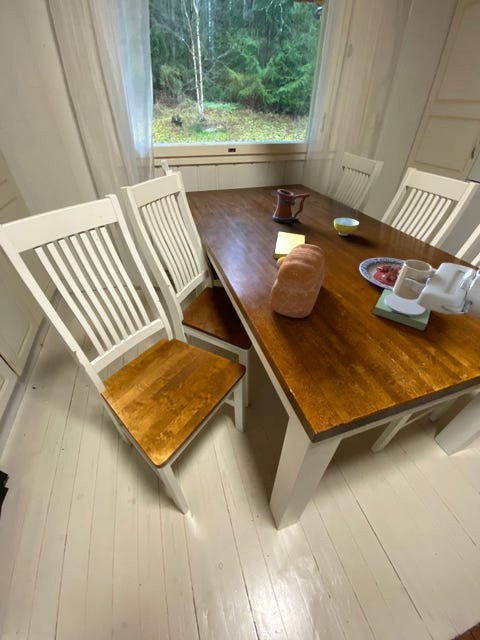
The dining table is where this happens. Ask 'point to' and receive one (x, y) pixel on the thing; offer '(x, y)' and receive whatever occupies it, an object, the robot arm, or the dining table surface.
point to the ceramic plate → (382, 271)
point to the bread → (298, 281)
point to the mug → (287, 206)
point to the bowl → (345, 225)
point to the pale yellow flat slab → (287, 243)
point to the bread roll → (280, 262)
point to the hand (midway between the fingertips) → (409, 274)
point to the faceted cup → (412, 270)
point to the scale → (402, 310)
